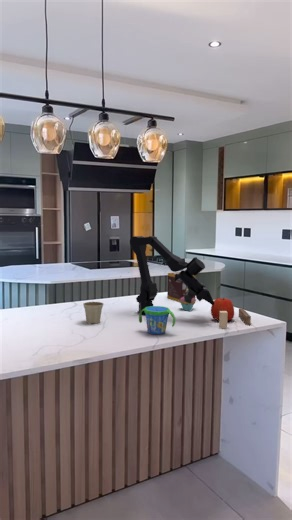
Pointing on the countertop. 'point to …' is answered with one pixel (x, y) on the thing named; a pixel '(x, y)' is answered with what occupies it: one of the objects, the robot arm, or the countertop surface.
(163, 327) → the snack cup
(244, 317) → the batten
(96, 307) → the flower pot
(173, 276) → the supplement box
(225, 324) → the beige upright piece
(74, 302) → the countertop surface
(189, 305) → the cupcake
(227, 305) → the apple
